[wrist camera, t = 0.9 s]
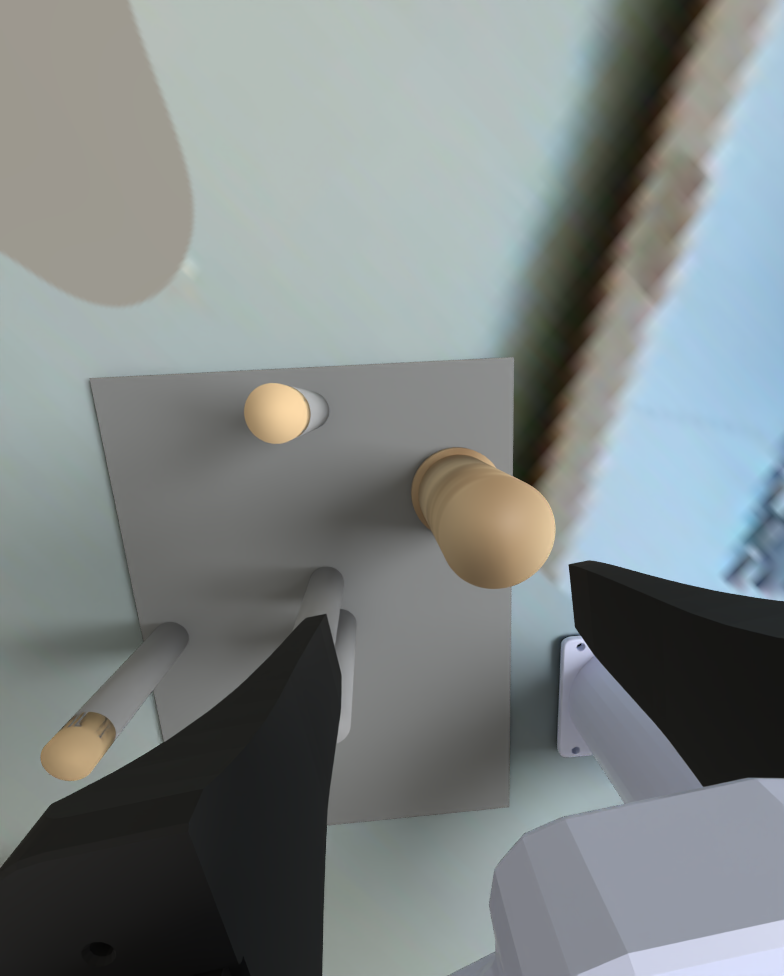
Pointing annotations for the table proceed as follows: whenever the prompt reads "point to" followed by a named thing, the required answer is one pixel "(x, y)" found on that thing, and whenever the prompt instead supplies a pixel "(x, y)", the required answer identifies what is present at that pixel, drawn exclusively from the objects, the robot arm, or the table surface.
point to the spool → (483, 518)
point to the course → (311, 568)
